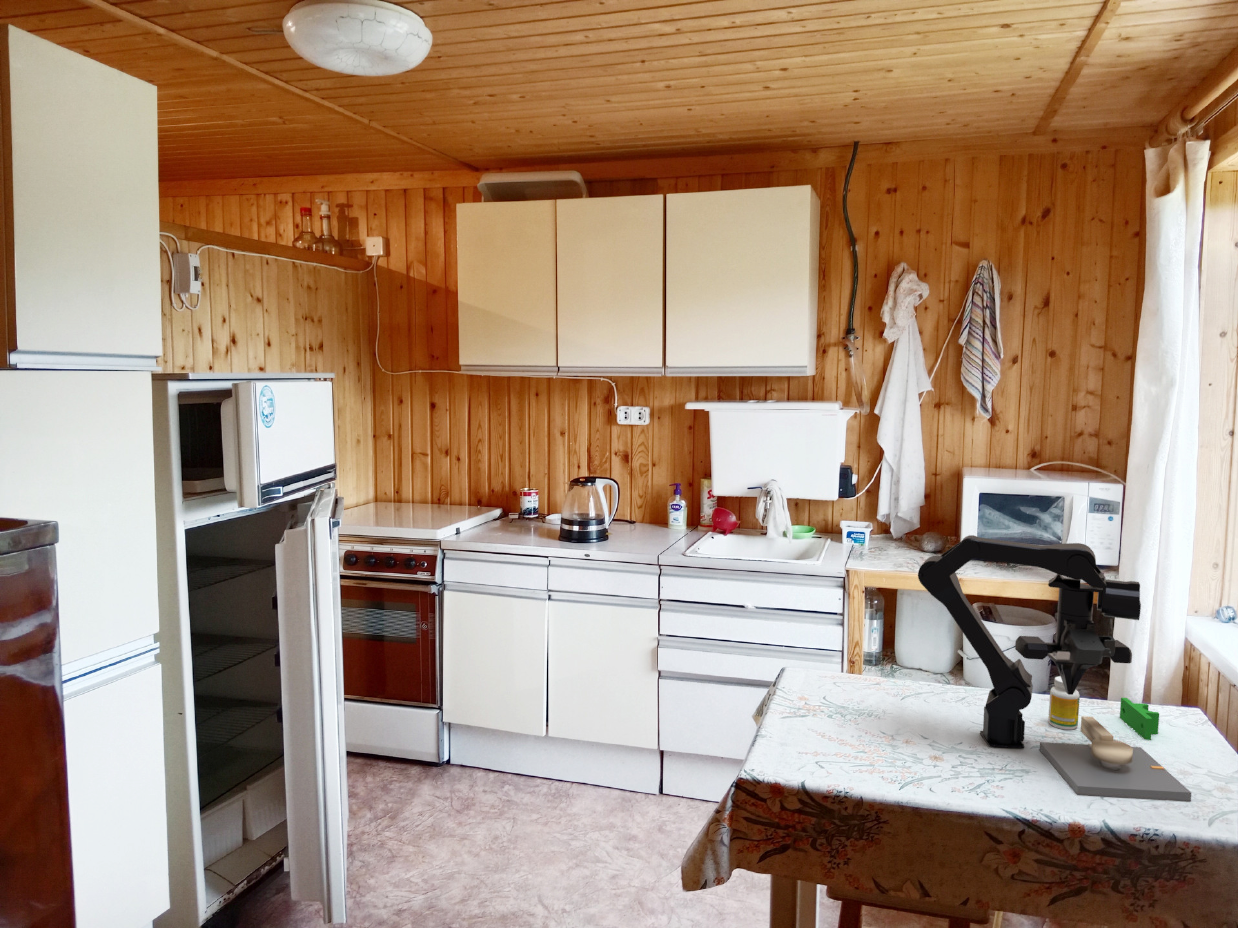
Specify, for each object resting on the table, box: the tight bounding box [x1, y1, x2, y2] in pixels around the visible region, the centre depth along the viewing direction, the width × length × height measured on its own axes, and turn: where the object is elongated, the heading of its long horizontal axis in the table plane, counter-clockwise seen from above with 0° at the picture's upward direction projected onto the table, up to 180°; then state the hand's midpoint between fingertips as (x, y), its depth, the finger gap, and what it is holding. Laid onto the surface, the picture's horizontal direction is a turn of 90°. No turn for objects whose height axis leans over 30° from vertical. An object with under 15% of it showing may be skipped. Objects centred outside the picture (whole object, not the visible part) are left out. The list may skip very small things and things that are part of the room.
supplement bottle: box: [1047, 675, 1081, 731], centre depth 178 cm, size 5×5×10 cm
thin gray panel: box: [1038, 741, 1192, 802], centre depth 156 cm, size 18×18×3 cm
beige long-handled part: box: [1080, 715, 1133, 765], centre depth 160 cm, size 14×6×3 cm, turn 173°
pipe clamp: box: [1119, 697, 1160, 741], centre depth 176 cm, size 11×4×5 cm, turn 173°
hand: (1069, 693), depth 164 cm, fingers closed
